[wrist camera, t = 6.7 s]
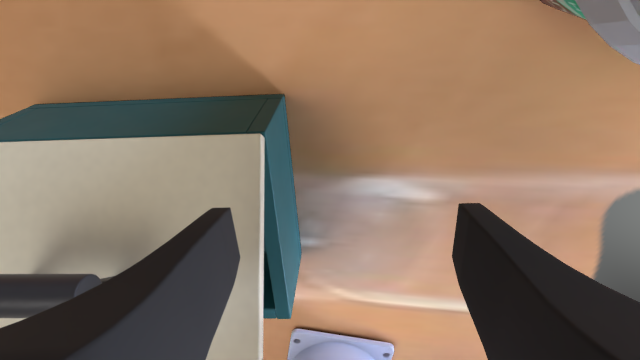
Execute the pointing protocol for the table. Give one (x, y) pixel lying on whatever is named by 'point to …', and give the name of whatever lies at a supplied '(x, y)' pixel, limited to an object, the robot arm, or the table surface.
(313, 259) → the table surface
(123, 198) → the lid
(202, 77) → the table surface
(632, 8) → the food container
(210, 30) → the table surface
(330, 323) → the table surface
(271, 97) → the cool box
